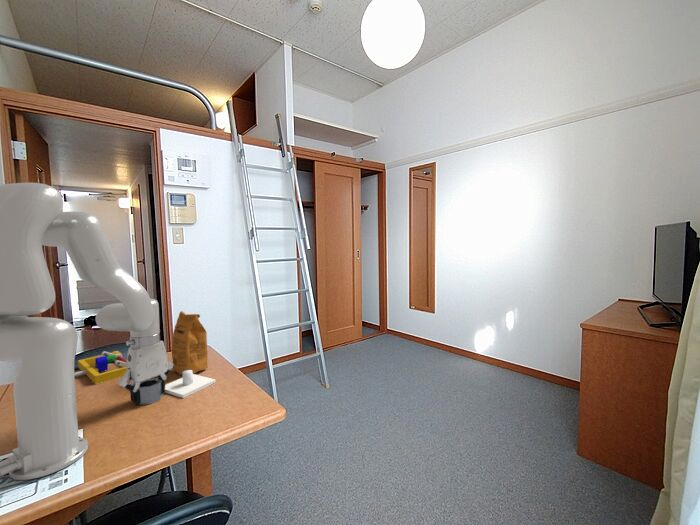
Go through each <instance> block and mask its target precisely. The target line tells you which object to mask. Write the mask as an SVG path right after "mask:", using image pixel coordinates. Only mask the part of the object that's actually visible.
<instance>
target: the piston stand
mask: <svg viewBox="0 0 700 525" xmlns="http://www.w3.org/2000/svg"><path fill="white" fill-rule="evenodd" d="M181 376H182V377H180V378H178V379H176V380H173V381H171V382H168V383H165V393H166V394H169V395H172V396H176V397H179V398H182V399H184V398H185V399H186V398H187V397H189V396H190V395H193V394H195V393H197V392H199V391H201V390H203V389H205V388H207V387H209V385H210V386H212V385H213V383H214V384H216V383H215V382H216V379H215V378H214V379H213V378H212V377H211V378H210V377H207V376H203V375H199V374H196V373H194V374H193V372H192V370H186V371H183V372H182V375H181ZM211 384H212V385H211ZM165 393H164V394H165Z"/></svg>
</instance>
